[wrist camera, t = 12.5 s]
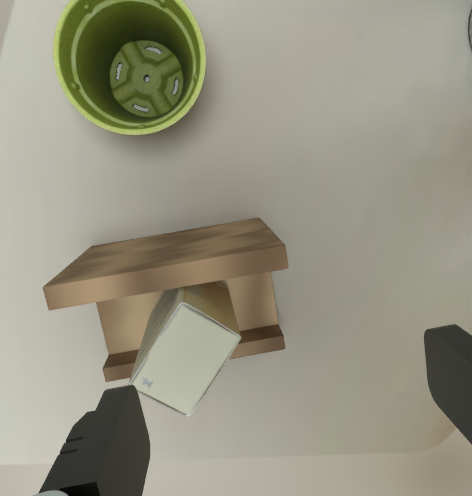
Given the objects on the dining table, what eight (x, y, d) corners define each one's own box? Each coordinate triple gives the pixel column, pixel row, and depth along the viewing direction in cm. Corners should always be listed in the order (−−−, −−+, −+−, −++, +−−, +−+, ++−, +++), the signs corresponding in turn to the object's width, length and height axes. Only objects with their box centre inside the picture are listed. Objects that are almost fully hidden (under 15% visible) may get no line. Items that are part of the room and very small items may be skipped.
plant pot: (192, 151, 37) (190, 149, 28) (80, 125, 35) (42, 116, 27) (215, 36, 35) (220, -2, 26) (98, 4, 34) (64, -46, 25)
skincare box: (191, 339, 38) (187, 424, 26) (147, 315, 37) (122, 391, 25) (230, 278, 37) (245, 338, 25) (187, 252, 36) (180, 301, 24)
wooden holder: (259, 217, 38) (285, 245, 27) (275, 325, 41) (305, 394, 29) (91, 246, 38) (42, 287, 26) (117, 354, 40) (83, 436, 28)
